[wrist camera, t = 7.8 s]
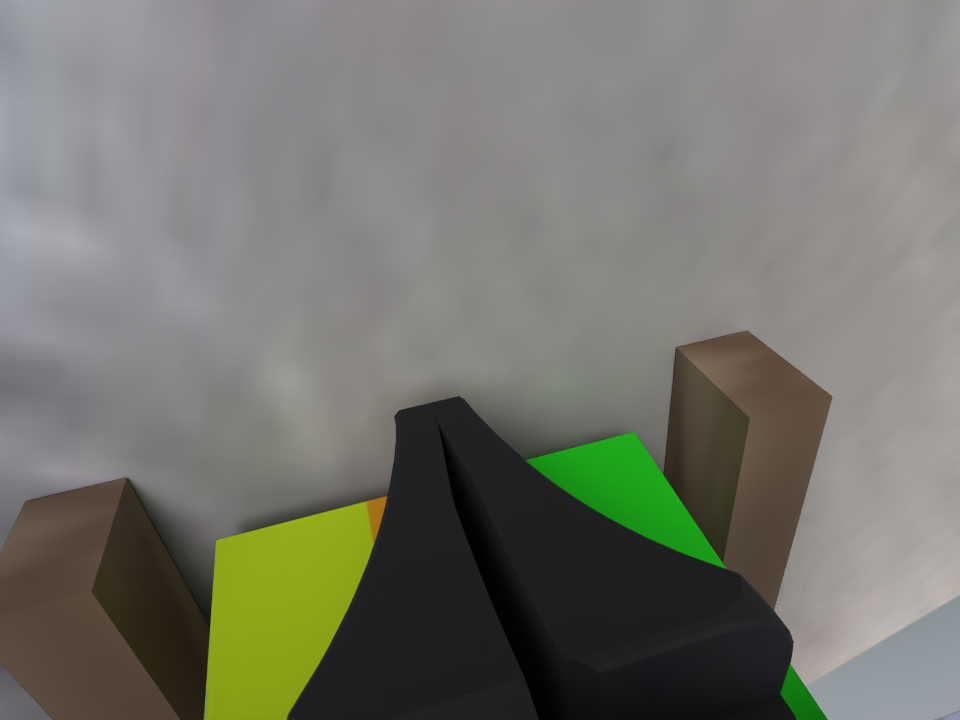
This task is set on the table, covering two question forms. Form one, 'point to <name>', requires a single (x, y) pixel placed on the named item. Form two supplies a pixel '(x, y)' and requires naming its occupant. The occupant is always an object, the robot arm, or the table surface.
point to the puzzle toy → (344, 555)
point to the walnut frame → (185, 633)
